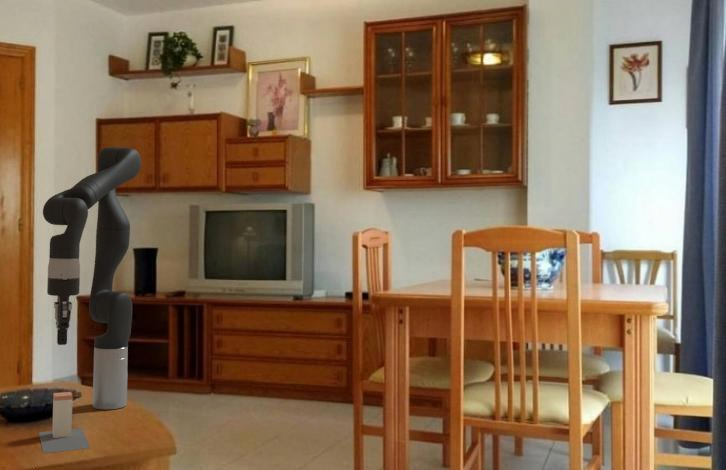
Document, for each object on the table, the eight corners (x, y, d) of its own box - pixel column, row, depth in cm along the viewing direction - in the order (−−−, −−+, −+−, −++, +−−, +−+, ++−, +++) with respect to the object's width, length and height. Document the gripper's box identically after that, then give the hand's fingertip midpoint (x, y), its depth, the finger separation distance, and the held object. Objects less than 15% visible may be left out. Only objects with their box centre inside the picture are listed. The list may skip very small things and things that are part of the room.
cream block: (52, 433, 174) (53, 393, 174) (69, 431, 176) (70, 391, 176) (53, 438, 170) (54, 396, 170) (71, 436, 172) (72, 395, 172)
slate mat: (38, 434, 175) (38, 432, 175) (81, 430, 179) (81, 428, 179) (43, 455, 159) (43, 453, 159) (90, 450, 163) (90, 448, 163)
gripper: (46, 274, 183) (44, 341, 183) (49, 278, 172) (47, 349, 172) (77, 274, 187) (75, 339, 187) (82, 277, 175) (80, 347, 175)
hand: (61, 344), depth 179 cm, fingers closed
